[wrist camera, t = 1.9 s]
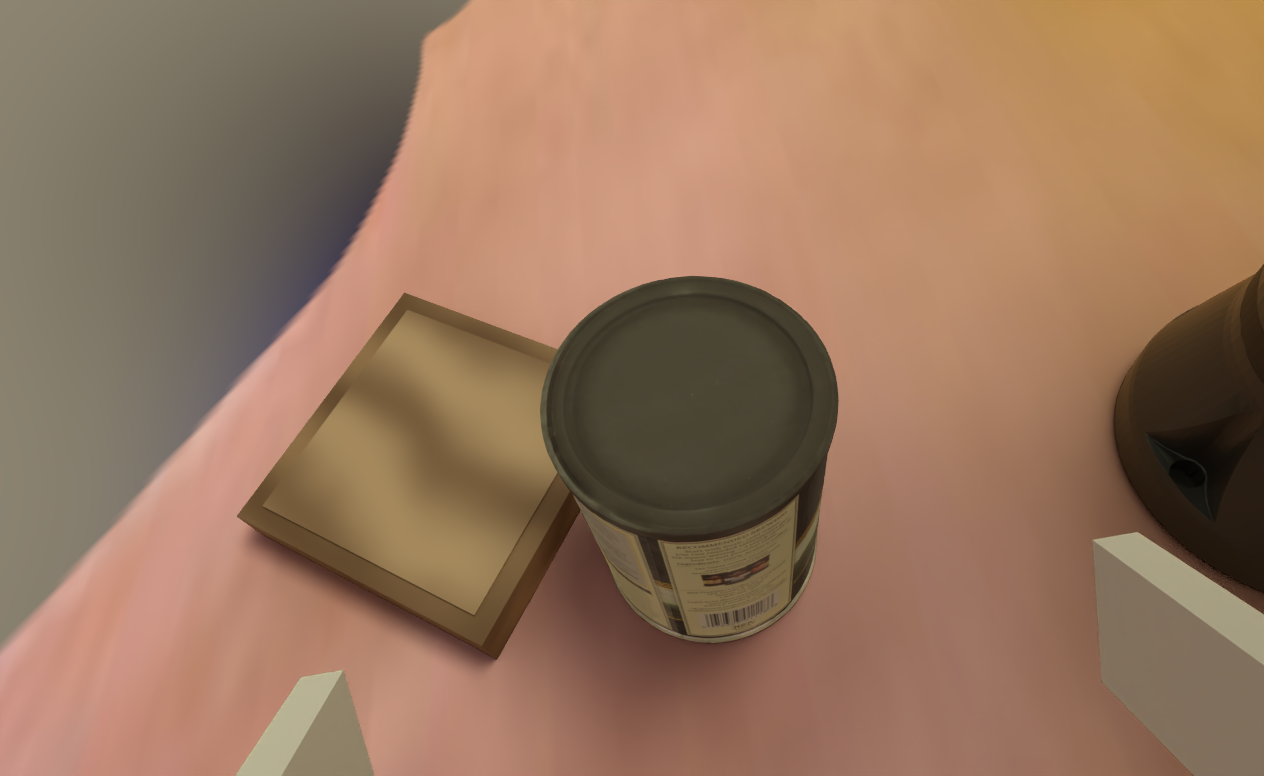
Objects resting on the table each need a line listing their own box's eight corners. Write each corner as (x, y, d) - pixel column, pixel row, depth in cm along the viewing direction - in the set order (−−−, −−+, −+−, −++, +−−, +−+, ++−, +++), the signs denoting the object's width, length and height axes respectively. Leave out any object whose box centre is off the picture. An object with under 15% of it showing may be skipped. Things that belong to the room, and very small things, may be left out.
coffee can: (711, 407, 44) (692, 230, 32) (862, 540, 40) (905, 390, 28) (562, 534, 42) (481, 393, 30) (704, 693, 37) (676, 602, 25)
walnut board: (419, 318, 50) (403, 291, 48) (640, 401, 45) (634, 376, 43) (262, 534, 44) (235, 515, 42) (497, 659, 39) (480, 645, 37)
